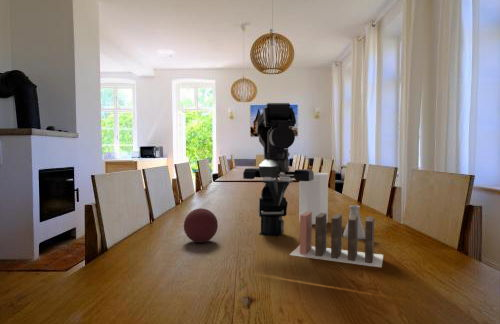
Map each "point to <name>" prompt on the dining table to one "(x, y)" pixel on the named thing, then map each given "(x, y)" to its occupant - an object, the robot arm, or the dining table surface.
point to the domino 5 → (369, 239)
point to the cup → (314, 196)
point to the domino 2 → (320, 234)
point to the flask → (355, 211)
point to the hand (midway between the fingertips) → (277, 205)
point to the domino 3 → (336, 235)
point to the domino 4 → (352, 237)
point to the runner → (341, 257)
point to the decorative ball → (200, 225)
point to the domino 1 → (305, 232)
